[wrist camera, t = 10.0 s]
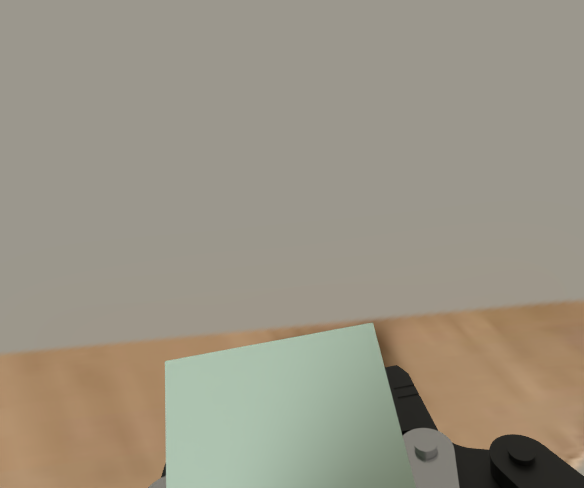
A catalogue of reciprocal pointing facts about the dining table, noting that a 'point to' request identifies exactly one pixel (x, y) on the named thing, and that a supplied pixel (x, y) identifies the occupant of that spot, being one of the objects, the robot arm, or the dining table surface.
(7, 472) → the dining table surface
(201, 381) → the sage block
